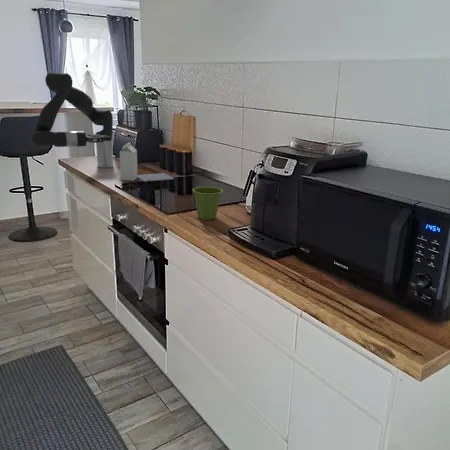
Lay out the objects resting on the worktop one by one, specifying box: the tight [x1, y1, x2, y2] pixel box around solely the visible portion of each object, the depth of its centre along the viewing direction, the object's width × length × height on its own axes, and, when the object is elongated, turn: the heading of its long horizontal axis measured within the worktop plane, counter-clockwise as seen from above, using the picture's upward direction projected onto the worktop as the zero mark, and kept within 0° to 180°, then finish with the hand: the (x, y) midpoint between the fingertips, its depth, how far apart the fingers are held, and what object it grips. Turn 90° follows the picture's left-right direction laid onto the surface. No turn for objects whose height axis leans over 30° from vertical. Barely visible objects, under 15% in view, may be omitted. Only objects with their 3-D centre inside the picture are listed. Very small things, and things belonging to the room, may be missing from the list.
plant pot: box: [192, 186, 224, 221], centre depth 173 cm, size 12×12×11 cm
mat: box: [137, 172, 175, 183], centre depth 240 cm, size 15×17×1 cm
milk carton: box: [119, 142, 139, 182], centre depth 232 cm, size 7×7×19 cm
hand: (110, 137), depth 224 cm, fingers open, 3 cm apart
